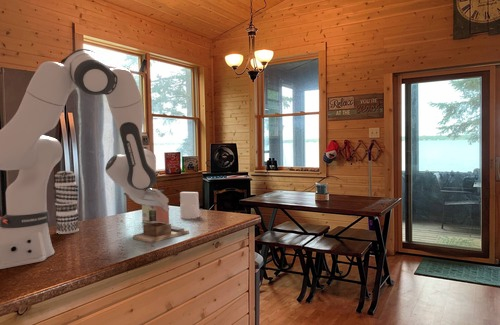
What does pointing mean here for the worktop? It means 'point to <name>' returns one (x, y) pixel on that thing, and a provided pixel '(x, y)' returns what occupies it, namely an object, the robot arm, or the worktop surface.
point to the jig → (159, 232)
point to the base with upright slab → (189, 205)
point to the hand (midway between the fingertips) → (160, 209)
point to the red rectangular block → (162, 215)
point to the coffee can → (149, 213)
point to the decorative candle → (66, 202)
